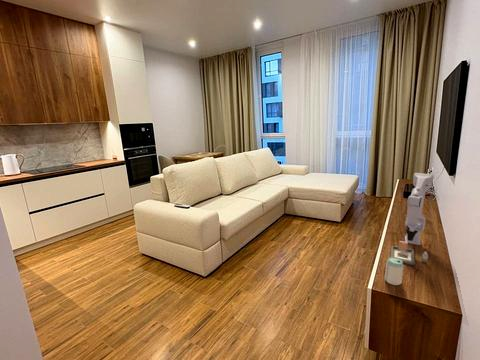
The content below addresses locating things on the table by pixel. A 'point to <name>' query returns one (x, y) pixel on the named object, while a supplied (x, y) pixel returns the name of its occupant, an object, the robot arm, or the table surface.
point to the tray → (395, 248)
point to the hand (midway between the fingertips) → (409, 237)
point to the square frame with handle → (403, 251)
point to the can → (394, 271)
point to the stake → (424, 257)
